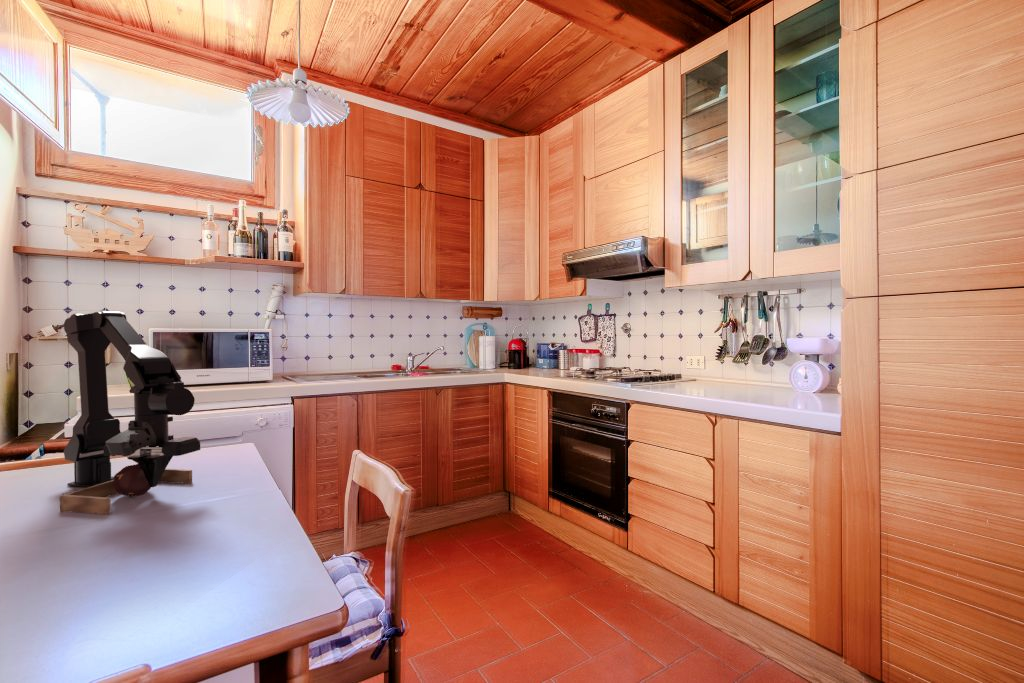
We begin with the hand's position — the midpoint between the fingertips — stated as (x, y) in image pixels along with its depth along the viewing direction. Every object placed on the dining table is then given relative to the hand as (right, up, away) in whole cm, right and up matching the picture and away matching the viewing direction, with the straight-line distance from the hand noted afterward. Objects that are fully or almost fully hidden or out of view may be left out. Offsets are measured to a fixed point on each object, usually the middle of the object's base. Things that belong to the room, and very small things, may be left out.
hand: (153, 486), depth 103 cm
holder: (-5, -2, +1) cm, 6 cm away
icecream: (-5, -2, +1) cm, 6 cm away
